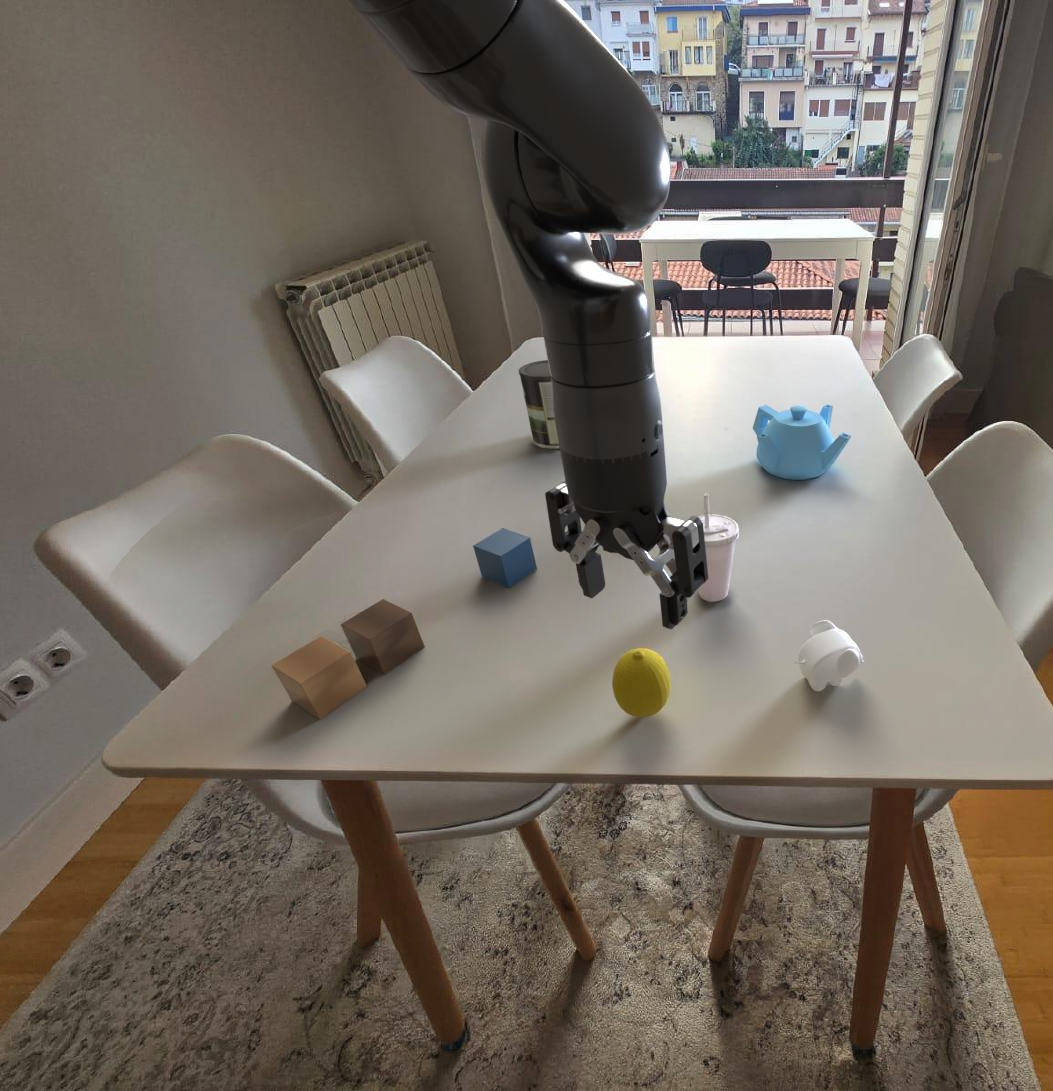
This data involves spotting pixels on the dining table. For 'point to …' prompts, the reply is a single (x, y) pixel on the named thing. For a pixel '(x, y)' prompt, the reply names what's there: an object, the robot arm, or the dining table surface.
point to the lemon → (641, 682)
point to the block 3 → (505, 557)
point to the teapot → (796, 442)
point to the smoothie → (717, 553)
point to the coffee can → (539, 403)
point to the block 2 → (383, 636)
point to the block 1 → (320, 676)
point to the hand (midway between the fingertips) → (633, 607)
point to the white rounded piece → (828, 655)
